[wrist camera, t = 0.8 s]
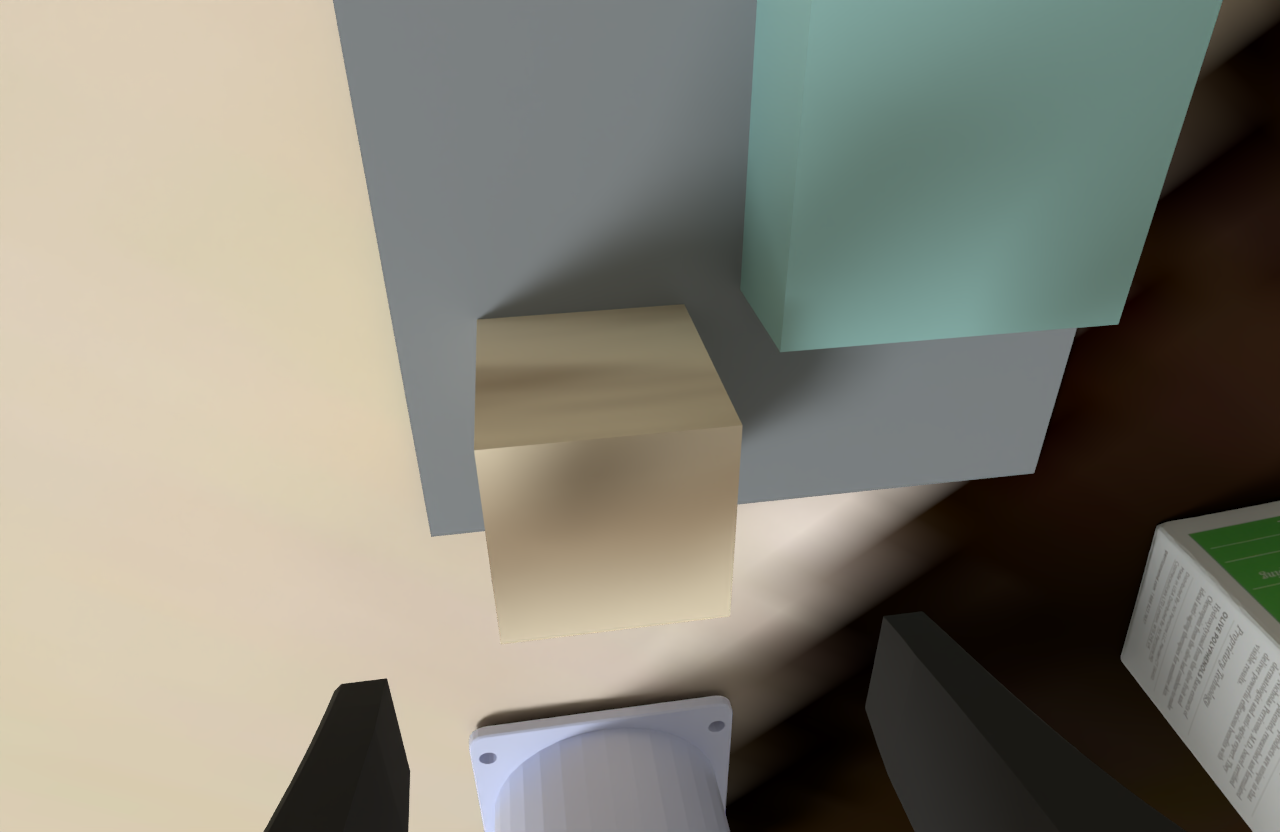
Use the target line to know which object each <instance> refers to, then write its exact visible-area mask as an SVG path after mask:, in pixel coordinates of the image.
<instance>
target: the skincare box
mask: <svg viewBox="0 0 1280 832" xmlns="http://www.w3.org/2000/svg"><path fill="white" fill-rule="evenodd" d="M1121 661H1122V662H1123V664H1124V665H1125V666H1126V667H1127V669H1128V670H1129V671H1130V673H1131V674H1132V675H1133V677H1134V678H1135V679H1136V681H1137V682H1138V683H1139V685H1140V686H1141V687H1142V688H1143V690H1144V691H1145V692H1146V694H1147V695H1148V696H1149V697H1150V699H1151V700H1152V701H1153V703H1154V704H1155V705H1156V707H1157V708H1158V709H1159V710H1160V712H1161V713H1162V714H1163V716H1164V717H1165V718H1166V720H1167V721H1168V722H1169V724H1170V725H1171V726H1172V727H1173V729H1174V730H1175V731H1176V733H1177V734H1178V735H1179V737H1180V738H1181V739H1182V740H1183V742H1184V743H1185V744H1186V746H1187V747H1188V748H1189V749H1190V751H1191V752H1192V753H1193V755H1194V756H1195V757H1196V758H1197V760H1198V761H1199V762H1200V763H1201V765H1202V766H1203V767H1204V769H1205V770H1206V771H1207V773H1208V774H1209V775H1210V777H1211V778H1212V779H1213V780H1214V782H1215V783H1216V784H1217V786H1218V787H1219V788H1220V790H1221V791H1222V792H1223V793H1224V795H1225V796H1226V797H1227V799H1228V800H1229V801H1230V803H1231V804H1232V805H1233V806H1234V808H1235V809H1236V810H1237V812H1238V813H1239V814H1240V816H1241V817H1242V818H1243V819H1244V821H1245V822H1246V823H1247V825H1248V826H1249V827H1250V828H1251V830H1252V831H1253V832H1280V501H1275V502H1270V503H1265V504H1260V505H1255V506H1250V507H1245V508H1240V509H1235V510H1229V511H1224V512H1219V513H1213V514H1208V515H1203V516H1198V517H1192V518H1186V519H1180V520H1174V521H1169V522H1165V523H1162V524H1160V525H1157V527H1156V530H1155V534H1154V537H1153V541H1152V545H1151V549H1150V552H1149V556H1148V560H1147V563H1146V567H1145V571H1144V574H1143V578H1142V582H1141V586H1140V589H1139V593H1138V596H1137V600H1136V604H1135V607H1134V611H1133V614H1132V618H1131V621H1130V625H1129V629H1128V632H1127V636H1126V639H1125V643H1124V647H1123V650H1122V654H1121Z"/></svg>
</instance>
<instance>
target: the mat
mask: <svg viewBox="0 0 1280 832" xmlns="http://www.w3.org/2000/svg"><path fill="white" fill-rule="evenodd" d="M333 3H334V9H335V14H336V19H337V25H338V30H339V36H340V41H341V47H342V52H343V58H344V63H345V69H346V74H347V80H348V85H349V90H350V96H351V101H352V107H353V112H354V118H355V123H356V129H357V134H358V140H359V145H360V150H361V156H362V161H363V167H364V172H365V178H366V183H367V189H368V194H369V200H370V205H371V210H372V216H373V221H374V227H375V232H376V238H377V243H378V249H379V254H380V260H381V265H382V270H383V276H384V281H385V287H386V292H387V298H388V303H389V309H390V314H391V320H392V325H393V330H394V336H395V341H396V347H397V352H398V358H399V363H400V369H401V374H402V380H403V385H404V390H405V396H406V401H407V407H408V412H409V418H410V423H411V429H412V434H413V440H414V445H415V451H416V456H417V461H418V467H419V472H420V478H421V483H422V489H423V494H424V500H425V505H426V511H427V516H428V521H429V527H430V532H431V537H433V536H442V535H452V534H461V533H471V532H480V531H485V526H484V519H483V512H482V504H481V497H480V490H479V483H478V476H477V468H476V461H475V454H474V428H475V382H476V336H477V319H491V318H504V317H518V316H531V315H545V314H558V313H572V312H585V311H599V310H612V309H626V308H639V307H653V306H666V305H680V304H684V305H685V307H686V309H687V311H688V313H689V315H690V317H691V319H692V321H693V323H694V325H695V328H696V330H697V332H698V334H699V336H700V338H701V340H702V342H703V344H704V346H705V348H706V350H707V352H708V355H709V357H710V359H711V361H712V363H713V365H714V367H715V369H716V371H717V373H718V375H719V377H720V379H721V382H722V384H723V386H724V388H725V390H726V392H727V394H728V396H729V398H730V400H731V402H732V404H733V406H734V409H735V411H736V413H737V415H738V417H739V419H740V421H741V423H742V425H743V426H742V441H741V456H740V472H739V487H738V502H737V504H746V503H755V502H765V501H774V500H784V499H793V498H803V497H812V496H822V495H831V494H841V493H850V492H859V491H869V490H878V489H888V488H897V487H907V486H916V485H926V484H935V483H945V482H954V481H964V480H973V479H983V478H992V477H1002V476H1011V475H1021V474H1030V473H1034V471H1035V468H1036V465H1037V461H1038V458H1039V454H1040V451H1041V448H1042V444H1043V441H1044V438H1045V434H1046V431H1047V427H1048V424H1049V421H1050V417H1051V414H1052V410H1053V407H1054V404H1055V400H1056V397H1057V393H1058V390H1059V387H1060V383H1061V380H1062V377H1063V373H1064V370H1065V366H1066V363H1067V360H1068V356H1069V353H1070V349H1071V346H1072V343H1073V339H1074V336H1075V332H1076V329H1077V328H1067V329H1055V330H1043V331H1031V332H1019V333H1007V334H994V335H982V336H970V337H958V338H946V339H934V340H922V341H910V342H898V343H886V344H873V345H861V346H849V347H837V348H825V349H813V350H801V351H789V352H780V351H779V349H778V348H777V346H776V345H775V343H774V342H773V340H772V338H771V337H770V335H769V334H768V332H767V331H766V329H765V327H764V326H763V324H762V323H761V321H760V320H759V318H758V317H757V315H756V313H755V312H754V310H753V309H752V307H751V306H750V304H749V302H748V301H747V299H746V298H745V296H744V295H743V293H742V292H741V290H740V285H741V268H742V251H743V233H744V216H745V199H746V182H747V165H748V147H749V130H750V113H751V96H752V79H753V61H754V44H755V27H756V10H757V0H333Z"/></svg>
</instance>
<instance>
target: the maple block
mask: <svg viewBox="0 0 1280 832" xmlns="http://www.w3.org/2000/svg"><path fill="white" fill-rule="evenodd" d="M742 426H743V425H742V423H741V421H740V419H739V417H738V415H737V413H736V411H735V409H734V406H733V404H732V402H731V400H730V398H729V396H728V394H727V392H726V390H725V388H724V386H723V384H722V382H721V379H720V377H719V375H718V373H717V371H716V369H715V367H714V365H713V363H712V361H711V359H710V357H709V355H708V352H707V350H706V348H705V346H704V344H703V342H702V340H701V338H700V336H699V334H698V332H697V330H696V328H695V325H694V323H693V321H692V319H691V317H690V315H689V313H688V311H687V309H686V307H685V305H684V304H680V305H666V306H653V307H639V308H626V309H612V310H599V311H585V312H572V313H558V314H545V315H531V316H518V317H504V318H491V319H477V336H476V382H475V428H474V454H475V461H476V468H477V476H478V483H479V490H480V497H481V504H482V512H483V519H484V526H485V533H486V541H487V548H488V555H489V562H490V569H491V577H492V584H493V591H494V598H495V606H496V613H497V620H498V627H499V634H500V642H501V644H509V643H517V642H525V641H533V640H542V639H550V638H558V637H566V636H574V635H582V634H591V633H599V632H607V631H615V630H623V629H631V628H640V627H648V626H656V625H664V624H672V623H680V622H689V621H697V620H705V619H713V618H721V617H729V616H730V608H731V593H732V578H733V563H734V548H735V532H736V517H737V502H738V487H739V472H740V456H741V441H742Z"/></svg>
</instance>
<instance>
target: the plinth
mask: <svg viewBox="0 0 1280 832" xmlns="http://www.w3.org/2000/svg"><path fill="white" fill-rule="evenodd" d="M1222 1H1223V0H757V10H756V27H755V44H754V61H753V79H752V96H751V113H750V130H749V147H748V165H747V182H746V199H745V216H744V233H743V251H742V268H741V285H740V290H741V292H742V293H743V295H744V296H745V298H746V299H747V301H748V302H749V304H750V306H751V307H752V309H753V310H754V312H755V313H756V315H757V317H758V318H759V320H760V321H761V323H762V324H763V326H764V327H765V329H766V331H767V332H768V334H769V335H770V337H771V338H772V340H773V342H774V343H775V345H776V346H777V348H778V349H779V351H780V352H789V351H801V350H813V349H825V348H837V347H849V346H861V345H873V344H886V343H898V342H910V341H922V340H934V339H946V338H958V337H970V336H982V335H994V334H1007V333H1019V332H1031V331H1043V330H1055V329H1067V328H1079V327H1091V326H1103V325H1116V324H1118V323H1119V320H1120V317H1121V314H1122V311H1123V307H1124V304H1125V301H1126V298H1127V295H1128V292H1129V289H1130V286H1131V283H1132V280H1133V277H1134V273H1135V270H1136V267H1137V264H1138V261H1139V258H1140V255H1141V252H1142V249H1143V246H1144V242H1145V239H1146V236H1147V233H1148V230H1149V227H1150V224H1151V221H1152V218H1153V215H1154V212H1155V208H1156V205H1157V202H1158V199H1159V196H1160V193H1161V190H1162V187H1163V184H1164V181H1165V177H1166V174H1167V171H1168V168H1169V165H1170V162H1171V159H1172V156H1173V153H1174V150H1175V147H1176V143H1177V140H1178V137H1179V134H1180V131H1181V128H1182V125H1183V122H1184V119H1185V116H1186V113H1187V109H1188V106H1189V103H1190V100H1191V97H1192V94H1193V91H1194V88H1195V85H1196V82H1197V78H1198V75H1199V72H1200V69H1201V66H1202V63H1203V60H1204V57H1205V54H1206V51H1207V48H1208V44H1209V41H1210V38H1211V35H1212V32H1213V29H1214V26H1215V23H1216V20H1217V17H1218V13H1219V10H1220V7H1221V4H1222Z"/></svg>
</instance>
